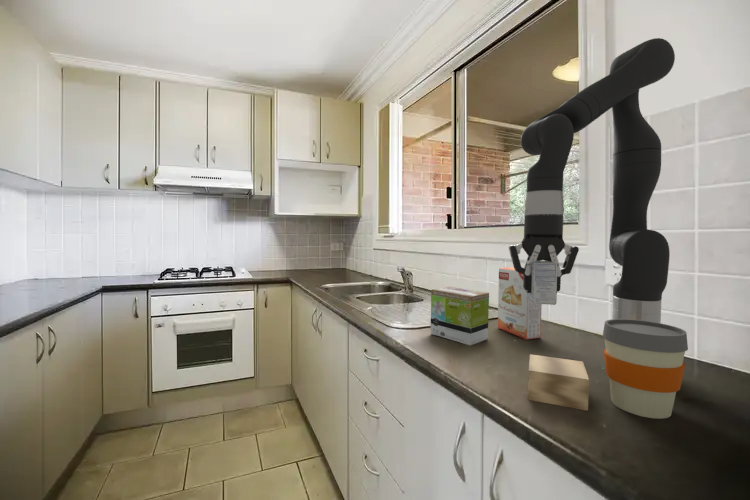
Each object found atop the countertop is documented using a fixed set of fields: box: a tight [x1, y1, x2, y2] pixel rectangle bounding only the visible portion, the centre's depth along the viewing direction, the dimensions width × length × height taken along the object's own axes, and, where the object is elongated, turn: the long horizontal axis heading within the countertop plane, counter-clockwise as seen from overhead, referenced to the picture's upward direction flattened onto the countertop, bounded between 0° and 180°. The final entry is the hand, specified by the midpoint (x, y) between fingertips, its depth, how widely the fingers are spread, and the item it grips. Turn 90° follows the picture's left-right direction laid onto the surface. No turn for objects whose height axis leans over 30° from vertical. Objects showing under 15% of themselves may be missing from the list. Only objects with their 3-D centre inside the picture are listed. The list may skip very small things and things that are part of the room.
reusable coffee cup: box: [602, 318, 689, 419], centre depth 66 cm, size 13×13×15 cm
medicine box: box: [527, 260, 558, 306], centre depth 76 cm, size 8×4×9 cm, turn 167°
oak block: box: [527, 354, 590, 412], centre depth 71 cm, size 10×10×6 cm
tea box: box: [430, 286, 490, 347], centre depth 109 cm, size 15×10×15 cm
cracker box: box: [497, 267, 543, 340], centre depth 114 cm, size 14×6×21 cm, turn 17°
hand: (541, 292), depth 76 cm, fingers closed on medicine box, 4 cm apart
